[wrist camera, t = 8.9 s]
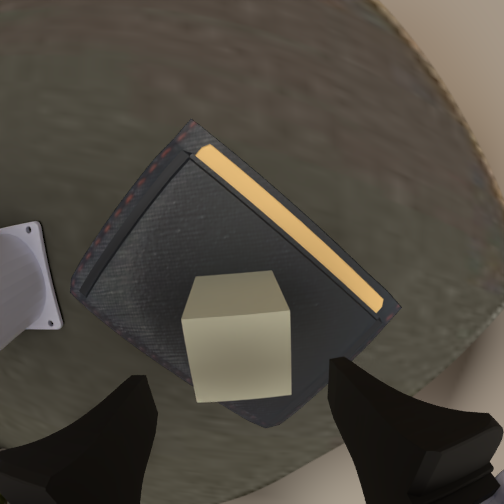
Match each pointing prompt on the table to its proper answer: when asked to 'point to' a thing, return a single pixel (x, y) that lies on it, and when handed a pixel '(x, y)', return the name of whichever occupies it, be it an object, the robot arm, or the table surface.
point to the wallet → (226, 266)
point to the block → (238, 337)
